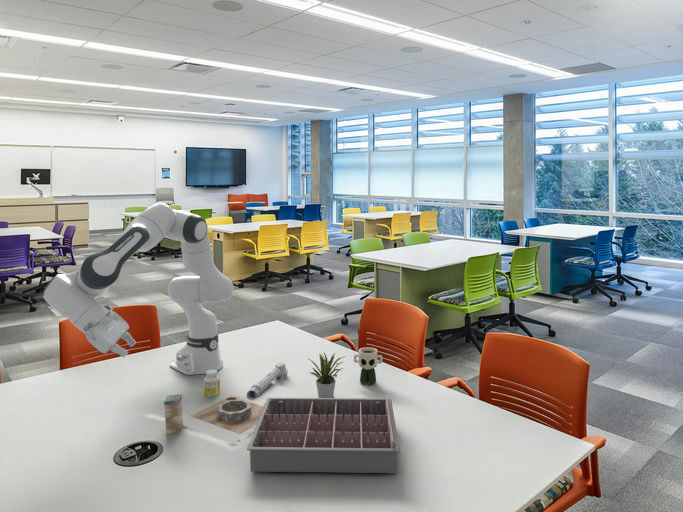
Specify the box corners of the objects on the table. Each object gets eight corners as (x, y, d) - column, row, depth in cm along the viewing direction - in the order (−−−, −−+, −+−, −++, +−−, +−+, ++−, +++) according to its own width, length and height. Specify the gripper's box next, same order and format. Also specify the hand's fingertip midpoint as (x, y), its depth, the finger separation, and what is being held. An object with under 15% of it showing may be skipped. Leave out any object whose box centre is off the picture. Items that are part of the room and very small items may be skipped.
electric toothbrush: (244, 389, 179) (277, 357, 202) (246, 405, 181) (279, 372, 204) (257, 391, 178) (289, 358, 200) (259, 408, 179) (290, 374, 202)
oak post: (166, 435, 155) (164, 401, 153) (168, 428, 159) (166, 395, 157) (181, 434, 155) (179, 400, 154) (183, 427, 160) (181, 394, 158)
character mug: (353, 385, 191) (353, 353, 189) (354, 378, 198) (354, 346, 196) (381, 387, 190) (382, 354, 188) (382, 379, 197) (382, 347, 195)
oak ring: (220, 403, 174) (220, 400, 174) (231, 397, 178) (231, 395, 178) (231, 406, 171) (231, 404, 171) (242, 401, 175) (242, 398, 175)
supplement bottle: (210, 401, 178) (209, 375, 177) (201, 397, 182) (200, 371, 180) (223, 396, 182) (222, 371, 181) (214, 392, 186) (213, 367, 184)
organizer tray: (267, 420, 164) (267, 391, 163) (390, 421, 163) (391, 392, 162) (247, 477, 133) (246, 442, 131) (399, 479, 132) (400, 444, 130)
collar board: (190, 419, 165) (190, 408, 164) (230, 399, 180) (230, 389, 179) (240, 437, 153) (239, 426, 153) (278, 414, 168) (278, 403, 168)
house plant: (357, 397, 181) (357, 353, 179) (330, 410, 171) (329, 364, 169) (328, 386, 191) (328, 344, 188) (301, 397, 181) (301, 354, 178)
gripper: (89, 321, 138) (129, 353, 141) (110, 303, 158) (145, 332, 161) (73, 338, 138) (113, 369, 141) (96, 318, 158) (131, 346, 161)
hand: (130, 349), depth 151 cm, fingers open, 8 cm apart
